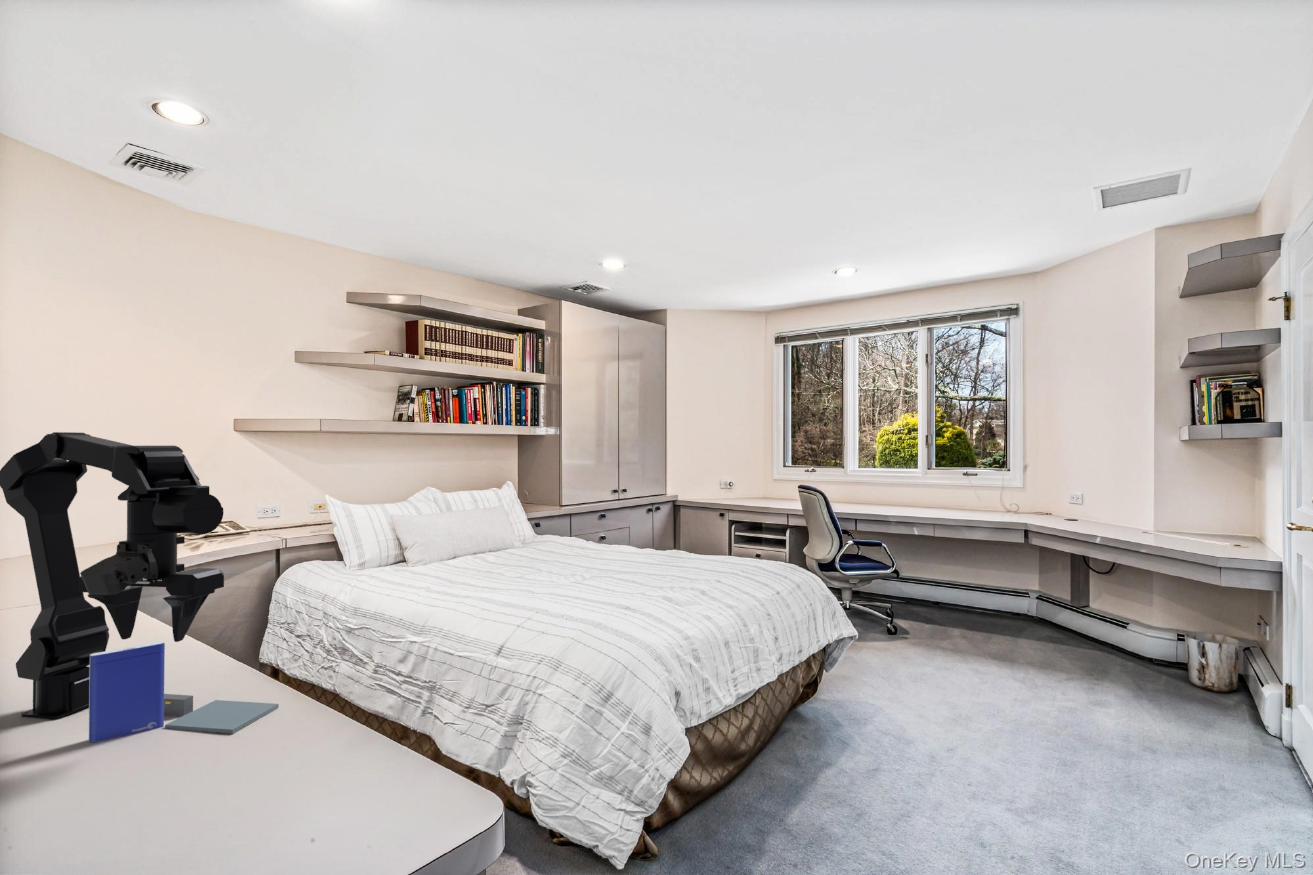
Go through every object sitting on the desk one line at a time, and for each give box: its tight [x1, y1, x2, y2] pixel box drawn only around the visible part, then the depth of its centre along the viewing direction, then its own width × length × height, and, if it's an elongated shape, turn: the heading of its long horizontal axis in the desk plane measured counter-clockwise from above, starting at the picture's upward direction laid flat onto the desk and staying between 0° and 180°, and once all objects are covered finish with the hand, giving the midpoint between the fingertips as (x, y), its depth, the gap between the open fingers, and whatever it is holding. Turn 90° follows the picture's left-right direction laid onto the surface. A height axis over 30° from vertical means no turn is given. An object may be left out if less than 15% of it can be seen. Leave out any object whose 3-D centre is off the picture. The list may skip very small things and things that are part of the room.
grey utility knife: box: [164, 693, 194, 717], centre depth 98 cm, size 12×2×2 cm, turn 82°
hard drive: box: [88, 640, 166, 743], centre depth 90 cm, size 2×8×12 cm, turn 136°
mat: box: [164, 699, 279, 735], centre depth 96 cm, size 11×9×1 cm
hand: (152, 639), depth 91 cm, fingers open, 8 cm apart
